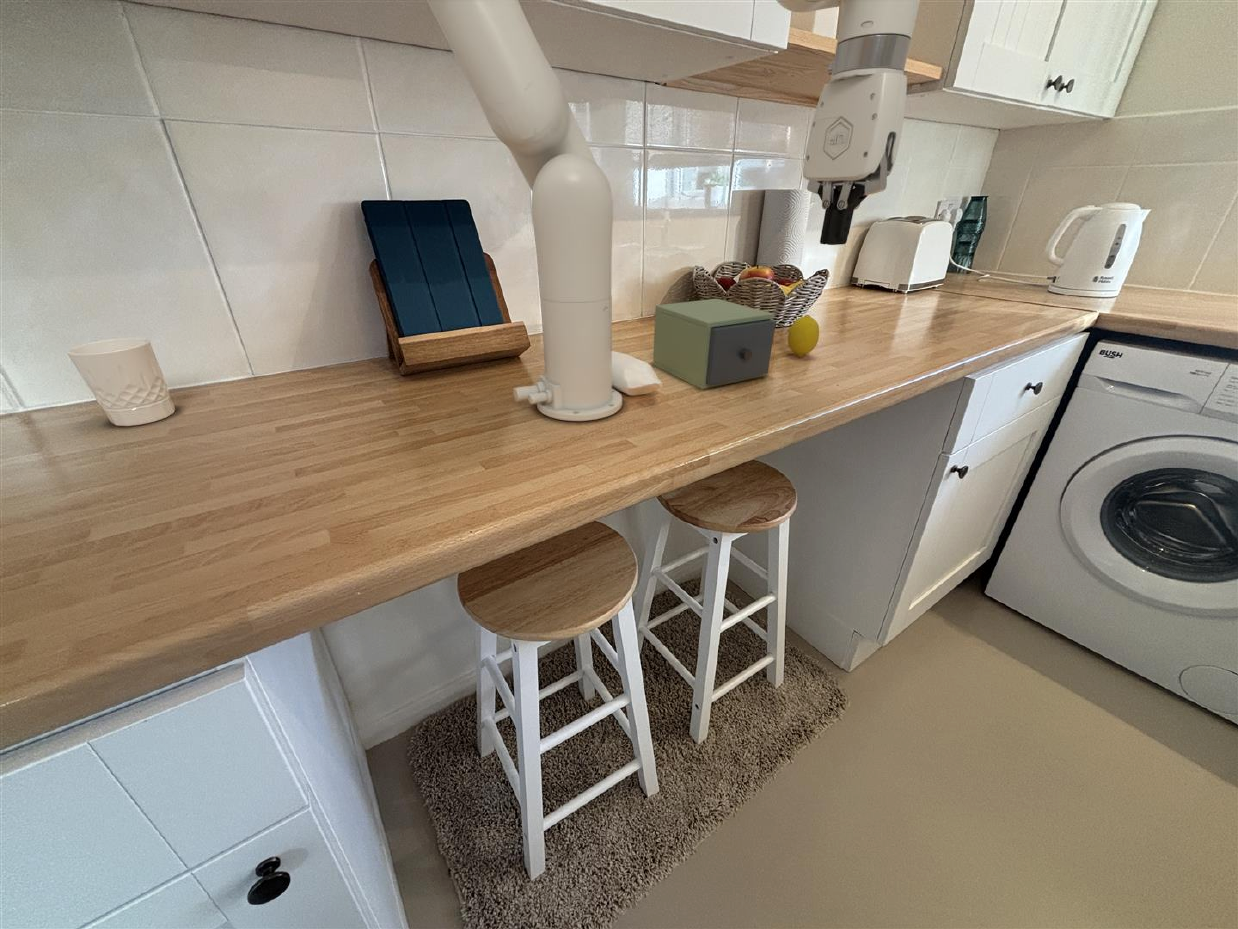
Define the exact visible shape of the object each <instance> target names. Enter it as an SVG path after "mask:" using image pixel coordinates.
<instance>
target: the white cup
mask: <svg viewBox="0 0 1238 929" xmlns="http://www.w3.org/2000/svg"><path fill="white" fill-rule="evenodd" d="M66 354H67V355H68V357H69V359H70V360H71V362H72V363H73V365H74V366H75V369H76V370H77V372H78V373H79V375H80V377H81V378H82V379H83V381H84V383H85V385H86V386H87V388H88V389H89V391H90V393H91V394H92V395H93V396H94V398H95V401H96V402H97V403H98V404H99V405H100V407H102V410H103V411H104V413H105V414H106V416H107V418H108V420H109V421H110V423H111V424H113V425H115V426H117V427H132V426H141V425H145V424H150V423H154V422H157V421H161V420H164V419H166V418H168V417H170V416H171V415H173V414H174V413H175V411H176V407H175V405H174V402H173V400H172V397H171V395H170V391H169V388H168V385H167V383H166V379H165V377H164V375H163V372H162V369H161V367H160V364H159V361H158V359H157V356H156V354H155V351H154V349H153V346H152V345H151V340H150V339H149V338H144V337H119V338H111V339H103V340H97V341H92V342H88V343H82V344H79V345H76V346H72V347H70V348H69V349H67V350H66Z"/></svg>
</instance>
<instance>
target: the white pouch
mask: <svg viewBox="0 0 1238 929" xmlns="http://www.w3.org/2000/svg"><path fill="white" fill-rule="evenodd" d="M662 387H663V383H662V381H661V380H660V379H659V378H658V376H657V372H656V371H655V370H654V368H653V367H652V366H651V365H650V363H648V362H646V361H644V360H642V359H639V358H636V357H634V356H632V355H629V354H627V353H623V352H620V351H616V350H612V388H613V389H615V390H617V391H620V392H622V393H624V394H626V395H628V396H640V395H648V394H650V393H652V392H653V391H655V390H656V389H660V388H662Z"/></svg>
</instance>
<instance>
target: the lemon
mask: <svg viewBox="0 0 1238 929" xmlns="http://www.w3.org/2000/svg"><path fill="white" fill-rule="evenodd" d="M819 339H820V326H819V323H818V321H816V319H815V318H813V317H811V315H809V314H805V315H804V316H801V317H799V318H797V319H795V320H794V321H793V322H792V324H791V326H790V328H789V331H788V335H787V344H788V348H789V349H790V350H791V351H792V353H795V354H796V356H797V357H799V358H802V357H803V356H805V355H807V354H810V353H811V352H812V351H813V350H814V349H815V348H816V346H817V344H818V343H819Z"/></svg>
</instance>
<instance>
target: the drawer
mask: <svg viewBox="0 0 1238 929" xmlns="http://www.w3.org/2000/svg"><path fill="white" fill-rule="evenodd" d="M776 324H777V321H776V320H774V319H773V320H767V321H762V320H760V321H753V322H746V323H739V324H732V325H725V326H718V327H711V333H710V343H709V354H708V364H707V374H706V384H708V385H710V386H711V385H716V384H720V383H725V382H730V381H735V380H740V379H745V378H749V377H754V376H759V375H764V374H765V375H767V374H769V369H770V362H771V355H772V350H773V345H774V344H773V343H774V337H775V331H776Z"/></svg>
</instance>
